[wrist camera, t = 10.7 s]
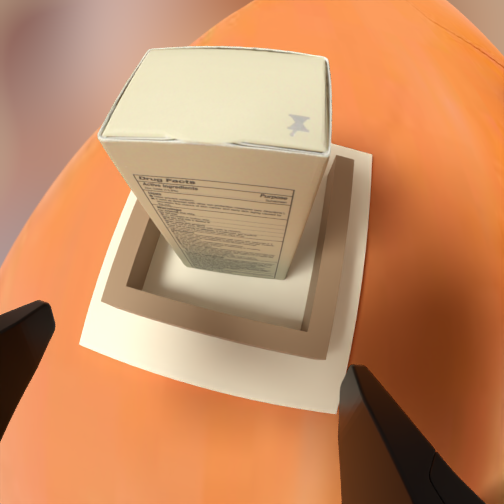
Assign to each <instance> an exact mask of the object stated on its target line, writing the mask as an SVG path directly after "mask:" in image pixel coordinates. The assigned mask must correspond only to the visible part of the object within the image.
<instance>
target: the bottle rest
mask: <svg viewBox="0 0 504 504" xmlns="http://www.w3.org/2000/svg"><path fill="white" fill-rule="evenodd" d="M371 172H372V155H371V154H368V153H365V152H361V151H358V150H354V149H351V148H347V147H343V146H340V145H336V144H332V143H331V154H330V158H329V161H328V164H327V167H326V170H325V173H324V175H323V178H322V181H321V183H320V186H319V189H318V192H317V195H316V197H315V200H314V203H313V206H312V209H311V211H310V214H309V217H308V220H307V223H306V225H305V228H304V231H303V234H302V236H301V239H300V242H299V244H298V247H297V250H296V253H295V255H294V258H293V260H292V263H291V265H290V268H289V271H288V273H287V276H286V278H285V280H276V279H265V278H256V277H247V276H240V275H232V274H225V273H218V272H212V271H206V270H200V269H195V268H189V267H186V266H185V265H184V264H183V262H182V261H181V260H180V258H179V257H178V256H177V254H176V253H175V251H174V250H173V249H172V247H171V246H170V245H169V243H168V242H167V240H166V239H165V238H164V236H163V235H162V233H161V232H160V231H159V229H158V228H157V227H156V225H155V224H154V222H153V221H152V219H151V218H150V216H149V215H148V214H147V212H146V211H145V209H144V208H143V206H142V205H141V203H140V202H139V200H138V199H137V198H136V196H135V195H134V193H133V192H132V190H131V192H130V195H129V197H128V199H127V202H126V204H125V207H124V209H123V211H122V214H121V216H120V219H119V221H118V224H117V227H116V229H115V232H114V234H113V237H112V240H111V243H110V245H109V248H108V251H107V254H106V256H105V259H104V262H103V265H102V268H101V271H100V274H99V277H98V280H97V283H96V287H95V290H94V293H93V296H92V300H91V303H90V306H89V310H88V313H87V317H86V320H85V324H84V328H83V332H82V335H81V339H80V343H79V345H82V346H84V347H86V348H89V349H91V350H94V351H96V352H99V353H101V354H104V355H106V356H109V357H111V358H114V359H116V360H119V361H122V362H124V363H127V364H130V365H133V366H135V367H138V368H141V369H144V370H147V371H150V372H153V373H156V374H159V375H162V376H165V377H168V378H172V379H175V380H178V381H181V382H185V383H188V384H192V385H195V386H199V387H202V388H206V389H210V390H214V391H217V392H221V393H225V394H229V395H234V396H238V397H242V398H247V399H251V400H256V401H260V402H265V403H270V404H275V405H281V406H286V407H292V408H298V409H304V410H310V411H317V412H324V413H331V414H336V413H337V409H338V405H339V396H340V386H341V383H342V381H343V379H344V377H345V375H346V370H347V366H348V361H349V356H350V351H351V345H352V340H353V335H354V329H355V323H356V317H357V311H358V305H359V298H360V291H361V284H362V276H363V268H364V260H365V251H366V242H367V231H368V220H369V207H370V192H371Z"/></svg>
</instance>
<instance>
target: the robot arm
mask: <svg viewBox="0 0 504 504" xmlns="http://www.w3.org/2000/svg"><path fill="white" fill-rule="evenodd" d="M54 331H55V321H54V317H53V313H52V310H51V306H50V305H49V303H47V302H44V301H41V300H37V301H34V302H32V303H29V304H27V305H24V306H22V307H19V308H17V309H14V310H12V311H9V312H7V313H4V314H2V315H0V441H1V439H2V437H3V435H4V432H5V430H6V428H7V426H8V424H9V422H10V420H11V418H12V415H13V413H14V411H15V409H16V407H17V405H18V403H19V401H20V399H21V398H22V396H23V394H24V392H25V390H26V388H27V386H28V384H29V382H30V381H31V379H32V377H33V375H34V373H35V371H36V369H37V368H38V365H39V363H40V361H41V359H42V357H43V354H44V352H45V350H46V348H47V346H48V343H49V341H50V339H51V337H52V335H53V333H54ZM338 445H339V459H340V476H341V496H342V504H486V503H485V502H484V501H482V500H481V499H480V498H479V497H478V496H477V495H476V494H475V493H474V492H473V491H472V490H471V489H470V488H469V487H468V486H467V485H466V484H465V483H464V482H463V481H462V480H461V479H460V478H459V477H458V476H457V475H456V474H455V472H454V471H453V470H452V469H451V468H450V467H449V466H448V464H447V463H446V462H445V461H444V460H443V458H442V457H441V456H440V455H439V454H438V452H435V449H434V448H433V446H432V445H431V444H430V443H429V442H428V440H427V439H426V438H425V437H424V435H423V434H422V433H421V432H420V431H419V429H418V428H417V427H416V426H415V425H414V423H413V422H412V421H411V420H410V418H409V417H408V416H407V415H406V414H405V412H404V411H403V410H402V409H401V408H400V406H399V405H398V404H397V403H396V402H395V400H394V399H393V398H392V397H391V396H390V394H389V393H388V392H387V391H386V390H385V388H384V387H383V386H382V385H381V384H380V382H379V381H378V380H377V379H376V378H375V377H374V375H373V374H372V373H371V372H370V371H369V369H368V368H367V367H366V366H364V365H354V364H353V365H351V366H350V367H349V368H348V370H347V373H346V375H345V377H344V379H343V381H342V383H341V386H340V396H339V426H338Z"/></svg>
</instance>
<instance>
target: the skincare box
mask: <svg viewBox="0 0 504 504" xmlns="http://www.w3.org/2000/svg"><path fill="white" fill-rule="evenodd" d="M331 135H332V90H331V74H330V67H329V61H328V59H327V58H326V57H322V56H316V55H310V54H305V53H298V52H292V51H283V50H275V49H264V48H249V47H229V46H188V47H172V48H156V49H149V50H148V51H147V52H146V54H145V55H144V57H143V58H142V60H141V62H140V63H139V64H138V66H137V67H136V68H135V70H134V72H133V73H132V75H131V76H130V78H129V79H128V81H127V82H126V84H125V86H124V87H123V89H122V91H121V93H120V94H119V96H118V97H117V99H116V101H115V103H114V104H113V106H112V108H111V109H110V111H109V113H108V115H107V117H106V119H105V121H104V122H103V124H102V126H101V128H100V130H99V132H98V140H99V141H100V143H101V144H102V146H103V148H104V149H105V151H106V152H107V154H108V155H109V157H110V158H111V160H112V161H113V163H114V165H115V166H116V168H117V169H118V171H119V172H120V173H121V175H122V177H123V178H124V180H125V181H126V183H127V184H128V186H129V187H130V189H131V190H132V192H133V193H134V195H135V196H136V198H137V199H138V200H139V202H140V203H141V205H142V206H143V208H144V209H145V211H146V212H147V214H148V215H149V216H150V218H151V219H152V221H153V222H154V224H155V225H156V227H157V228H158V229H159V231H160V232H161V233H162V235H163V236H164V238H165V239H166V240H167V242H168V243H169V245H170V246H171V247H172V249H173V250H174V251H175V253H176V254H177V256H178V257H179V258H180V260H181V261H182V262H183V264H184V265H185V266H186V267H189V268H195V269H200V270H206V271H212V272H218V273H225V274H232V275H240V276H247V277H256V278H265V279H276V280H285V278H286V276H287V273H288V271H289V268H290V265H291V263H292V260H293V258H294V255H295V253H296V250H297V247H298V244H299V242H300V239H301V236H302V234H303V231H304V228H305V225H306V223H307V220H308V217H309V214H310V211H311V209H312V206H313V203H314V200H315V197H316V195H317V192H318V189H319V186H320V183H321V181H322V178H323V175H324V173H325V170H326V167H327V164H328V161H329V158H330V154H331Z"/></svg>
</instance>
